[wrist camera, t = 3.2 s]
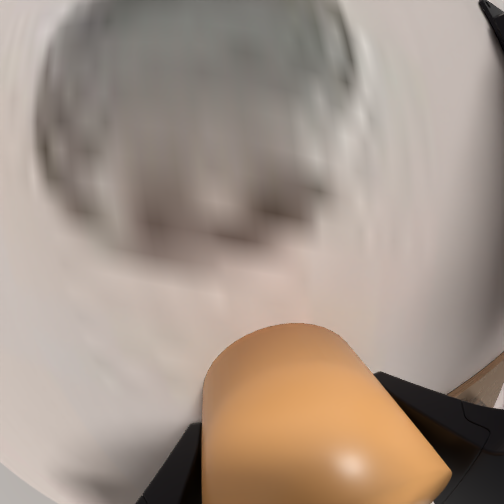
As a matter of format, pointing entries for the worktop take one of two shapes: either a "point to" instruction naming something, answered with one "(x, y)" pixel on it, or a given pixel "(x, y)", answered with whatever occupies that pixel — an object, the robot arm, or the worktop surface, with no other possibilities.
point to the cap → (308, 427)
